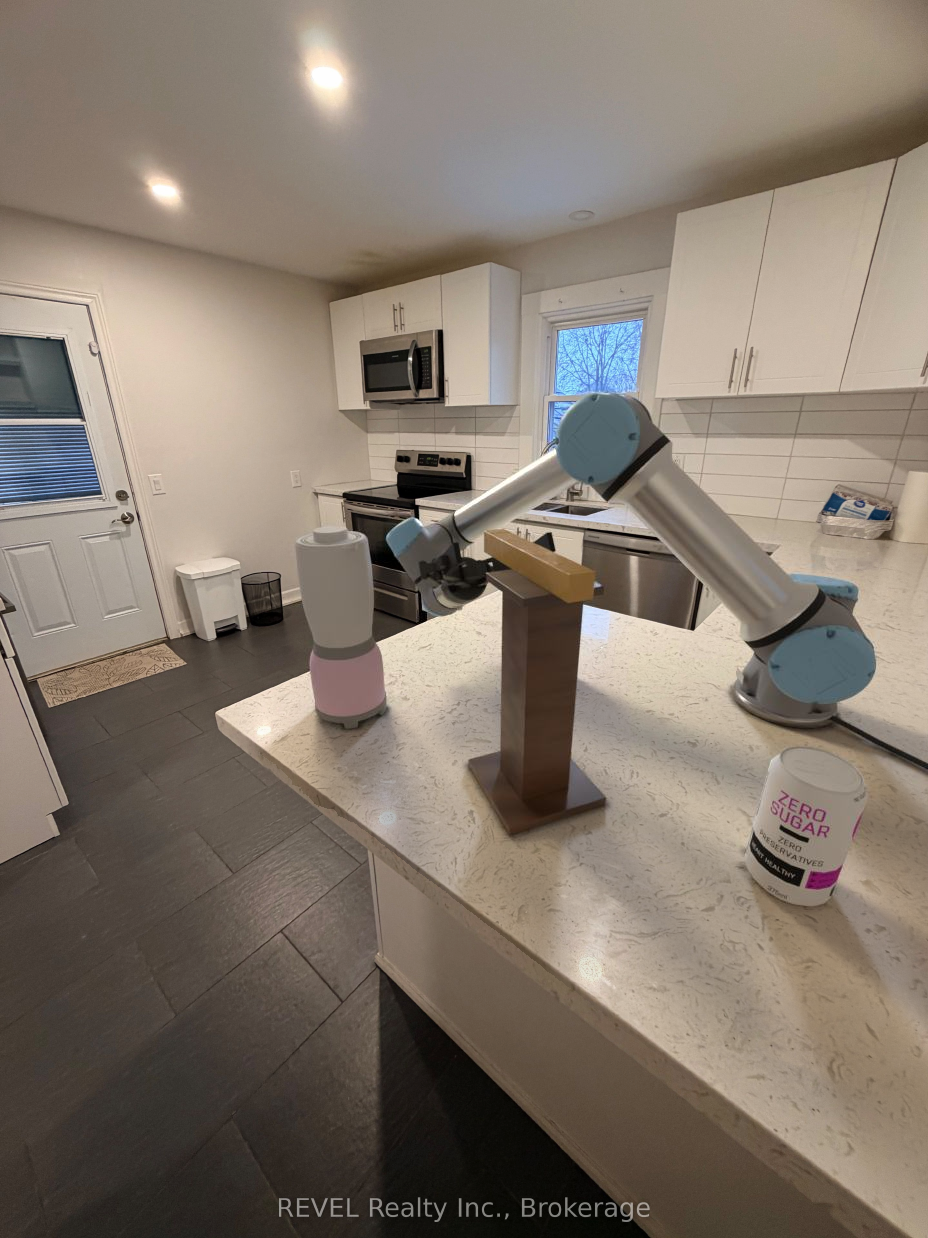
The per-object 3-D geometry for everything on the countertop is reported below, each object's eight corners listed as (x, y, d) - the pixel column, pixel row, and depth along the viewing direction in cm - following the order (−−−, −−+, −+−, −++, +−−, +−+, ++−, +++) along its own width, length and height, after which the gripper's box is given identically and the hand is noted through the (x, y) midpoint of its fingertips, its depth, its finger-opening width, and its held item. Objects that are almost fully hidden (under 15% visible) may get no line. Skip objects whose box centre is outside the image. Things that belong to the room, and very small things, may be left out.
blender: (401, 709, 87) (387, 528, 75) (341, 739, 79) (314, 543, 67) (352, 678, 97) (333, 515, 85) (294, 702, 90) (264, 526, 77)
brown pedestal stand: (468, 765, 73) (464, 570, 61) (551, 743, 77) (563, 557, 66) (509, 835, 61) (514, 607, 49) (605, 804, 65) (631, 589, 53)
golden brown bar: (483, 551, 69) (483, 530, 68) (503, 549, 70) (503, 528, 69) (568, 603, 50) (569, 574, 49) (593, 599, 51) (595, 571, 50)
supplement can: (816, 856, 57) (854, 750, 51) (841, 921, 50) (887, 805, 44) (738, 839, 59) (765, 735, 54) (750, 898, 52) (783, 786, 46)
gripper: (529, 594, 89) (592, 563, 69) (393, 614, 81) (420, 586, 61) (520, 554, 90) (581, 512, 70) (385, 570, 82) (409, 528, 62)
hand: (506, 546), depth 65 cm, fingers open, 13 cm apart
